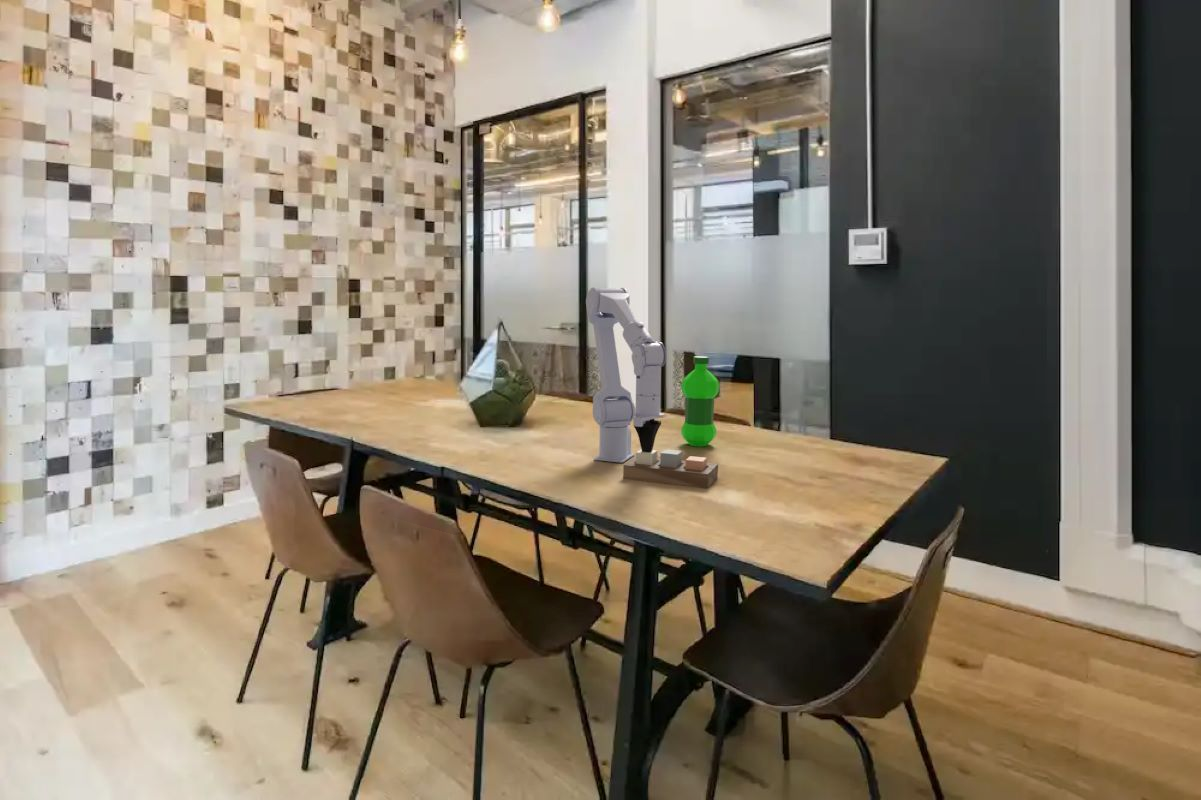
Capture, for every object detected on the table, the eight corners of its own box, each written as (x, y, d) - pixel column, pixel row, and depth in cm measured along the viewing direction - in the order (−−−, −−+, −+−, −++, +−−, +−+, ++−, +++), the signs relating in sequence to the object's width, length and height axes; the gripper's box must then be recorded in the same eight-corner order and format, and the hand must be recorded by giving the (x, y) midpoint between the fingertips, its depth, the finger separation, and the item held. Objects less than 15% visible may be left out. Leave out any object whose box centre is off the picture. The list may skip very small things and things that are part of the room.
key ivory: (641, 463, 171) (641, 448, 171) (657, 465, 170) (657, 450, 169) (635, 467, 168) (636, 452, 167) (651, 469, 166) (652, 454, 166)
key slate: (665, 464, 169) (665, 449, 168) (681, 465, 167) (681, 451, 167) (660, 468, 165) (660, 452, 165) (676, 469, 164) (677, 454, 163)
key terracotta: (689, 471, 167) (690, 456, 166) (706, 472, 165) (706, 457, 165) (685, 475, 163) (685, 459, 163) (702, 477, 162) (702, 461, 161)
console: (637, 468, 175) (637, 455, 175) (717, 477, 168) (718, 464, 167) (623, 478, 166) (623, 464, 165) (707, 488, 159) (708, 474, 158)
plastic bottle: (724, 446, 201) (727, 357, 197) (694, 449, 196) (697, 359, 192) (702, 439, 210) (705, 354, 206) (672, 442, 204) (675, 356, 201)
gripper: (655, 400, 158) (653, 459, 160) (673, 391, 171) (671, 446, 173) (625, 398, 160) (624, 456, 163) (645, 389, 174) (644, 444, 176)
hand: (646, 451), depth 168 cm, fingers closed, pressing on key ivory
